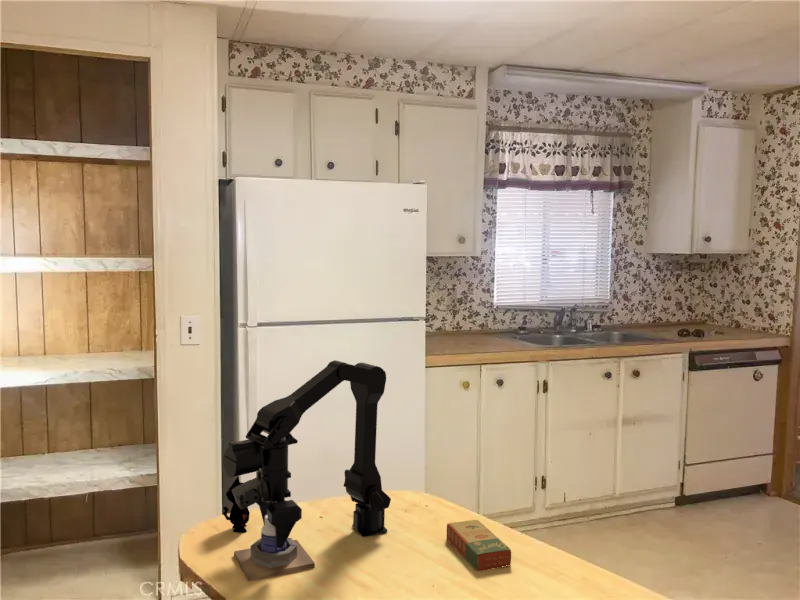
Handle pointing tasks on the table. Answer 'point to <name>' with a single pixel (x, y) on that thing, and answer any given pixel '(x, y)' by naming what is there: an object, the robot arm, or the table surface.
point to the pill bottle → (269, 539)
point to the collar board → (273, 560)
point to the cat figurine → (236, 511)
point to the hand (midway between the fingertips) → (273, 538)
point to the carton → (478, 545)
